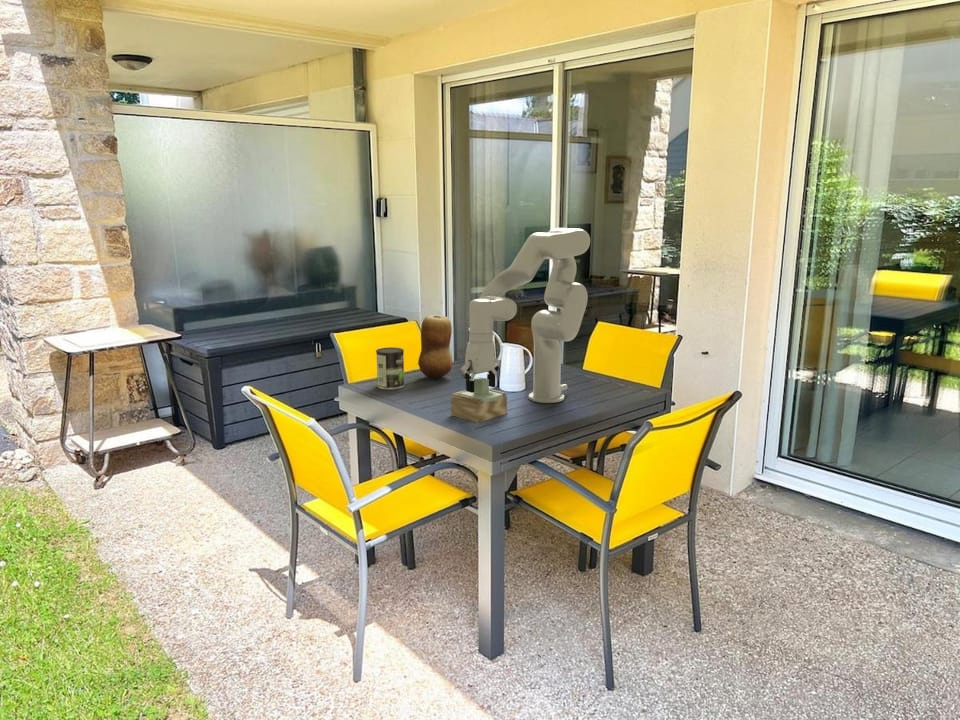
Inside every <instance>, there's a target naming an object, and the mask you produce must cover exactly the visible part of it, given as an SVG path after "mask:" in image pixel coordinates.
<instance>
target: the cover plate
mask: <svg viewBox="0 0 960 720" xmlns="http://www.w3.org/2000/svg"><path fill="white" fill-rule="evenodd" d="M473 380H474V393H471V392H467V391H466V392H463V393H460V395H464V396H468V397H471V398H475V399H478V400H481V403H487V402H490V401H494V400H497V399H501V398H503V394H500V393H496V392H492V391H489V389H490V386H489V379H487V378H485V377H481V376H480V377H474V379H473Z"/></svg>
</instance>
